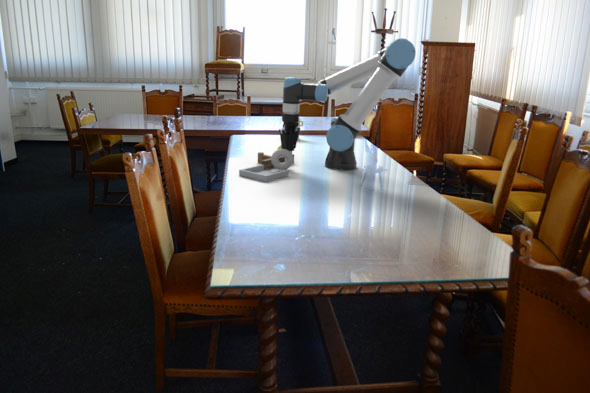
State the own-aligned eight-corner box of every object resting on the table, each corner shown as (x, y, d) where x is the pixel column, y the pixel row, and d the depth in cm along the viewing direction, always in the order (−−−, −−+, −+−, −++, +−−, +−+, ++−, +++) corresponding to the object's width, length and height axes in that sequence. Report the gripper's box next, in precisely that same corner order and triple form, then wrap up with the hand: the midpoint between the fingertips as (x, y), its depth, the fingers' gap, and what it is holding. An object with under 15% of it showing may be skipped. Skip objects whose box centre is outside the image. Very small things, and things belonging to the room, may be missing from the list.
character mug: (285, 139, 297) (286, 118, 293) (284, 137, 304) (285, 116, 300) (302, 139, 298) (303, 118, 294) (301, 137, 304) (302, 117, 301)
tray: (288, 175, 207) (288, 170, 207) (265, 182, 196) (266, 176, 195) (262, 169, 216) (262, 164, 215) (239, 175, 204) (239, 169, 203)
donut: (293, 168, 218) (293, 147, 214) (293, 171, 215) (293, 149, 211) (271, 168, 218) (270, 147, 214) (271, 171, 215) (270, 150, 211)
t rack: (293, 162, 233) (294, 152, 232) (264, 169, 216) (264, 159, 215) (274, 158, 240) (274, 149, 239) (244, 165, 223) (244, 155, 222)
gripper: (293, 111, 220) (290, 161, 227) (274, 112, 210) (272, 165, 217) (306, 113, 216) (302, 164, 223) (288, 114, 206) (285, 168, 213)
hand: (287, 164), depth 220 cm, fingers closed
